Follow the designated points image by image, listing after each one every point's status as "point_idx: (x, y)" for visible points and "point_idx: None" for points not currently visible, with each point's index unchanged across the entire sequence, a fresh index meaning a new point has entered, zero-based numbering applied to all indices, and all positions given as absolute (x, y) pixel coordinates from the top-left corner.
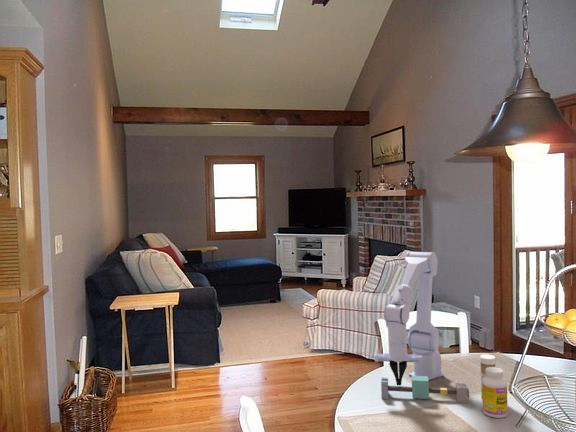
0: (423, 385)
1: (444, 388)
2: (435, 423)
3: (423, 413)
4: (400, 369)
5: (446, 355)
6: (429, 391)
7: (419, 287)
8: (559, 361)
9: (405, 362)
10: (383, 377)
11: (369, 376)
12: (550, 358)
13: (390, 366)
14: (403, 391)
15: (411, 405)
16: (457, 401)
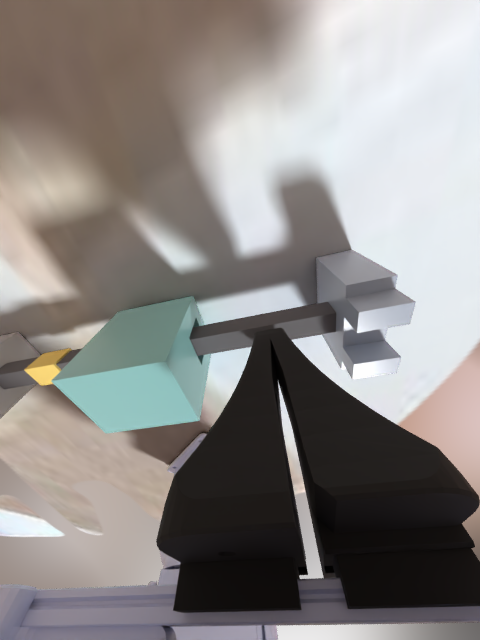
0: (104, 350)
1: (45, 379)
2: None
3: (60, 116)
4: (260, 438)
5: None
6: None
7: None
8: (7, 532)
9: (198, 584)
10: (383, 374)
11: (391, 421)
12: (28, 535)
13: (453, 467)
14: (242, 318)
15: (177, 222)
16: (15, 334)
